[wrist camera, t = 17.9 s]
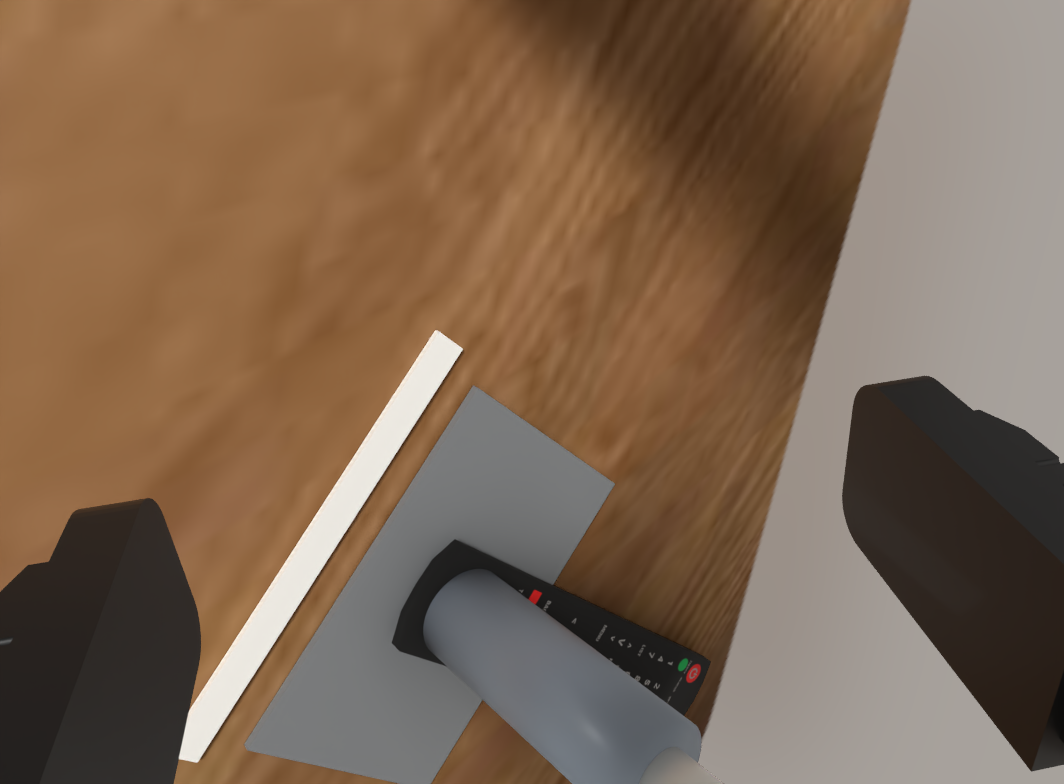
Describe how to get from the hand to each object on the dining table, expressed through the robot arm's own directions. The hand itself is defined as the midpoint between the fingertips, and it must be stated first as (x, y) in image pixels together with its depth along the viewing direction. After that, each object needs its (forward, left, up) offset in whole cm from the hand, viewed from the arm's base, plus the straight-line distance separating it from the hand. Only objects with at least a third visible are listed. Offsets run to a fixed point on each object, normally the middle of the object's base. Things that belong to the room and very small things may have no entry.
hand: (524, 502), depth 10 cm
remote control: (+6, +31, -23) cm, 39 cm away
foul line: (+7, +14, -23) cm, 28 cm away
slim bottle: (+6, +21, -21) cm, 31 cm away
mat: (+7, +22, -23) cm, 33 cm away
